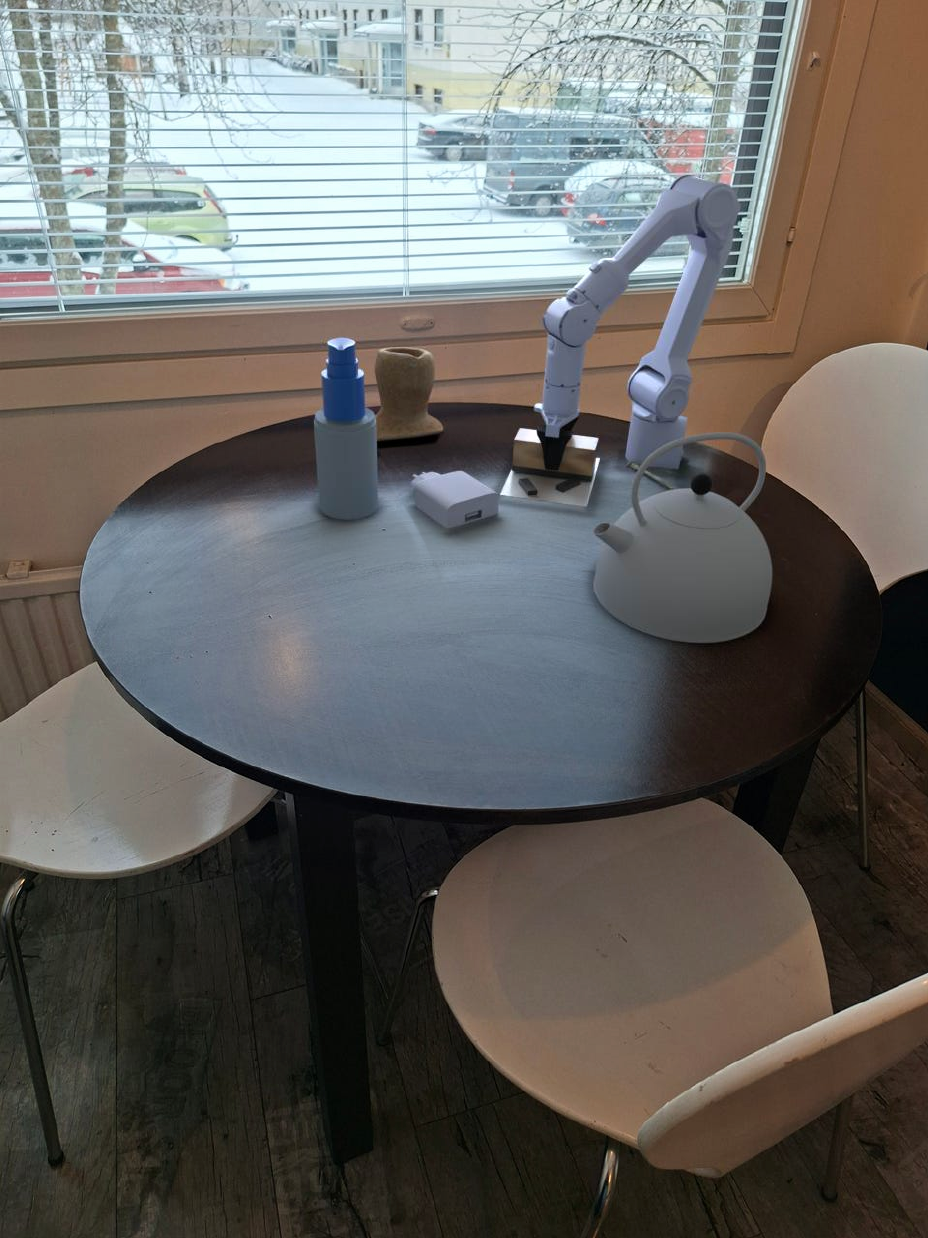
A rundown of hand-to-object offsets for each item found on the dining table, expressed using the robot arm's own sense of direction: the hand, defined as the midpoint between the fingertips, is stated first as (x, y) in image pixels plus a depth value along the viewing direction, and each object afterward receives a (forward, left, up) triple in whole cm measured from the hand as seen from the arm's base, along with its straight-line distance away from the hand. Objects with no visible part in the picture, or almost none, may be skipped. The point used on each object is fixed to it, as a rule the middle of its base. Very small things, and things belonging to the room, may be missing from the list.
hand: (554, 462), depth 143 cm
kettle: (-21, +30, -3) cm, 37 cm away
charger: (+14, +15, -3) cm, 21 cm away
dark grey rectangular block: (+3, +7, -2) cm, 8 cm away
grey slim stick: (-20, +1, -3) cm, 20 cm away
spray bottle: (+28, +19, -3) cm, 35 cm away
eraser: (0, 0, -1) cm, 1 cm away
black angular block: (-3, +5, -2) cm, 6 cm away
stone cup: (+29, -10, -3) cm, 31 cm away
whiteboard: (0, +1, -3) cm, 3 cm away
